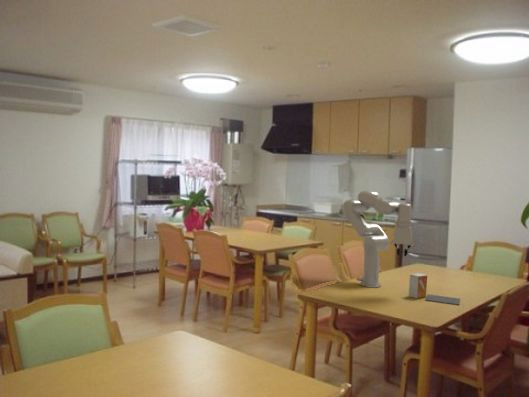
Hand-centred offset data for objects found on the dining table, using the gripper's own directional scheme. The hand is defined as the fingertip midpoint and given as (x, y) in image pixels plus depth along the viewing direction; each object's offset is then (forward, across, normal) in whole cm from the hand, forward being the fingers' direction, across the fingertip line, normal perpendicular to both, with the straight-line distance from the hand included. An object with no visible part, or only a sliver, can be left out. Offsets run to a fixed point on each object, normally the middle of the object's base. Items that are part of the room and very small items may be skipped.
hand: (402, 255), depth 289 cm
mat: (+23, +24, 0) cm, 33 cm away
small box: (+23, +10, 0) cm, 25 cm away
